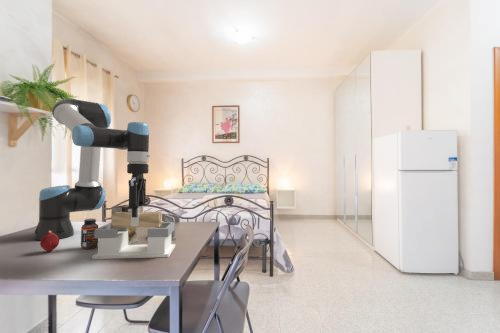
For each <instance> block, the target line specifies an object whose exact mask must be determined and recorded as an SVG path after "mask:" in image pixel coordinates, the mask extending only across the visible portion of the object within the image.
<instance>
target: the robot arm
mask: <svg viewBox="0 0 500 333" xmlns="http://www.w3.org/2000/svg"><path fill="white" fill-rule="evenodd" d="M51 114H52V117H53V118H54V119H55V121H56V122H57V123H59V124H61V125H64V126H65V127H66V128H67V129H68V130H69V131H70V132H71V140H72V144H74V145H75V146H77V147H80V156H79V168H78V170H79V171H78V180H77V181H76V182H75V183H74V187H71V185H57V186H50V187H45V188H42V189H41V190H40V192H39V195H38V196H39V197H38V205H39V206H38V213H39V214H38V223H37V225H36V228H35V230H34V233H33V240H36V241H41V239H42V238H43V237H44V236H45V235H46V234H48V231H51V232H52V233H54V234H56V235H57V236H58V238H59V240H60V239H65V238H69V237H72V236H73V235H74V234H75V229H74V227H73V224H72V222H71V219H70V216H71V215H70V213H75V212H76V213H77V212H87V211H95V210H100V209H101V208H102V207H103V205H104V203H105V200H106V189H105V187H103V186H102V183H101V182H100V180H99V178H100V175H99V174H100V162H101V148H102V149H103V148H104V149H105V148H106V149H118V150H125V151H126V153H127V154H126V155H127V156H126V161H127V163H128V164H127V165H126V173H127V174H128V175H129V174H130V175H131V179H129V180H128V205H129V207H128V208H129V209H131V226H139V212H145V210H144V209H145V207H146V206H147V202H146V198H147V197H146V196H147V195H146V192H147V190H146V188H147V186H146V184H147V178H145V177H144V174H146V175H147V174H149V164H148V163H149V158H150V157H151V155H150V154H149V150H150V148H149V146H150V145H149V144H150V142H149V141H150V140H149V139H150V133H149V130H150V129H149V124H147V123H145V122H141V121H139V122H138V121H131V122H128V124H127V128H126V130H125V129H116V128H115V129H114V128H109V127H110V126H111V122H112V116H111V111H110V109H109V107H108V106H107V105H105V104H102V103H98V102H93V101H87V100H80V99H77V98H76V99H75V98H64V99H62V100H59V101H57V102H55V104H54V105H53V106H52V108H51Z"/></svg>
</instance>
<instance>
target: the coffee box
mask: <svg viewBox="0 0 500 333" xmlns="http://www.w3.org/2000/svg"><path fill="white" fill-rule="evenodd" d="M128 207H129V204H123V205H116V206H111V216H110V218H111V219H110V223H112V214H114V213H116V212H131V209H129V208H128ZM137 242H138V227H137V228H128V245H133V244H135V243H137Z"/></svg>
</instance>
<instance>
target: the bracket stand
mask: <svg viewBox="0 0 500 333" xmlns="http://www.w3.org/2000/svg"><path fill="white" fill-rule="evenodd" d="M174 228H175V229H176V221H175V222H163V221H162V225H161V226H160V227H147V236H148V237H147V243H145V244H144V243H143V244H130V245H128V228H112V223H111V222H109V223H107V224H105V225H102V226H101V227H98V229H95V238H98V246H97V252H96V253H95V254H93V255H92V259H91V260H104V259H106V260H107V259H139V258H140V259H141V258H142V259H143V258H144V259H145V258H146V259H147V258H169V257H170V255H171V254H172V252H173V251H174V250H175V247H176V243H172V240H171V233H172V232H173V231H174Z"/></svg>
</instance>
